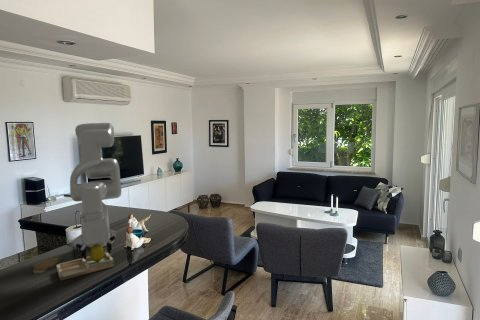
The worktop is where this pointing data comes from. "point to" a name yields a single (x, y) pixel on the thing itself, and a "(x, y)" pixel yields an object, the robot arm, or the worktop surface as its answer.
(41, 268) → the pottery shard
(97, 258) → the lemon
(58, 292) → the worktop surface
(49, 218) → the worktop surface
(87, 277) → the worktop surface
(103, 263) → the tray
